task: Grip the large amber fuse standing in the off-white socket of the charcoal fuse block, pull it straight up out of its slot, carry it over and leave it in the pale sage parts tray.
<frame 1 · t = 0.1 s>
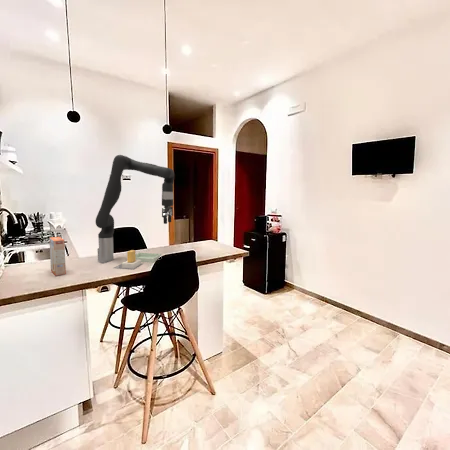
hand: (167, 222, 175), 29 cm above the countertop, tool pointing down, fingers open, 8 cm apart
fuse block: (128, 267, 172), on the countertop
parts tray: (145, 260, 190), on the countertop
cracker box: (58, 272, 158), on the countertop
fuse: (131, 266, 172), point 1 cm above the countertop, touching fuse block
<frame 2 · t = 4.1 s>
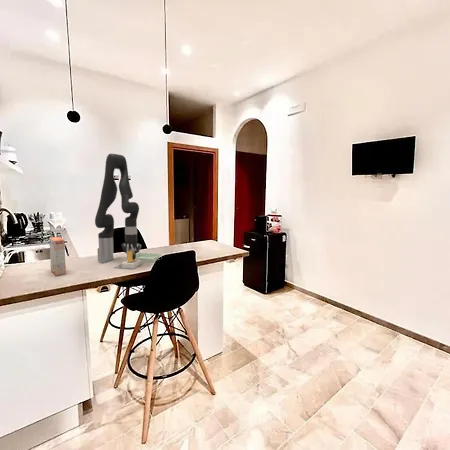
hand: (131, 259, 171), 6 cm above the countertop, tool pointing down, fingers closed on fuse, 2 cm apart
fuse: (131, 265, 172), point 1 cm above the countertop, touching gripper
everything else where it was.
when the fingers open (7 cm above the countertop, at t = 11.1 s): fuse stays where it is and tips over, resting on parts tray.
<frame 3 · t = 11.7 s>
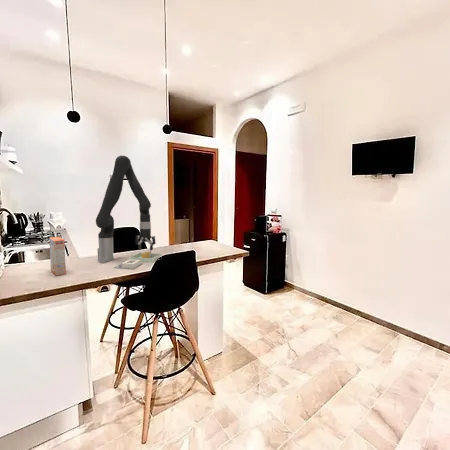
hand: (145, 250, 189), 8 cm above the countertop, tool pointing down, fingers open, 8 cm apart
fuse: (149, 254, 196), point 3 cm above the countertop, tilted 90°, touching parts tray
everything else where it was.
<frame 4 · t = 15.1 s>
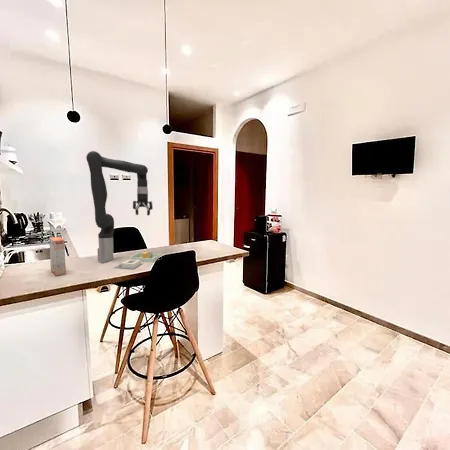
hand: (142, 215, 194), 32 cm above the countertop, tool pointing down, fingers open, 8 cm apart
nothing on the countertop moved.
at the end: fuse inside the target area on the parts tray (6.4 cm from its centre), point 3.1 cm above the parts tray's base; the gripper is holding nothing; fuse moved 25.5 cm from its start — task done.
